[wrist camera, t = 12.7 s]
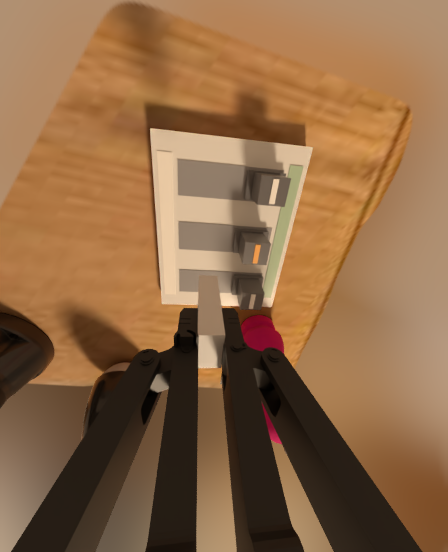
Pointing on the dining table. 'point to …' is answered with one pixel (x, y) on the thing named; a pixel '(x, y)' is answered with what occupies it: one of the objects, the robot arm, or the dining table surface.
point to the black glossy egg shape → (102, 393)
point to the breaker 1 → (248, 291)
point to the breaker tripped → (252, 246)
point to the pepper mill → (259, 337)
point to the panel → (218, 210)
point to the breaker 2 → (267, 188)
